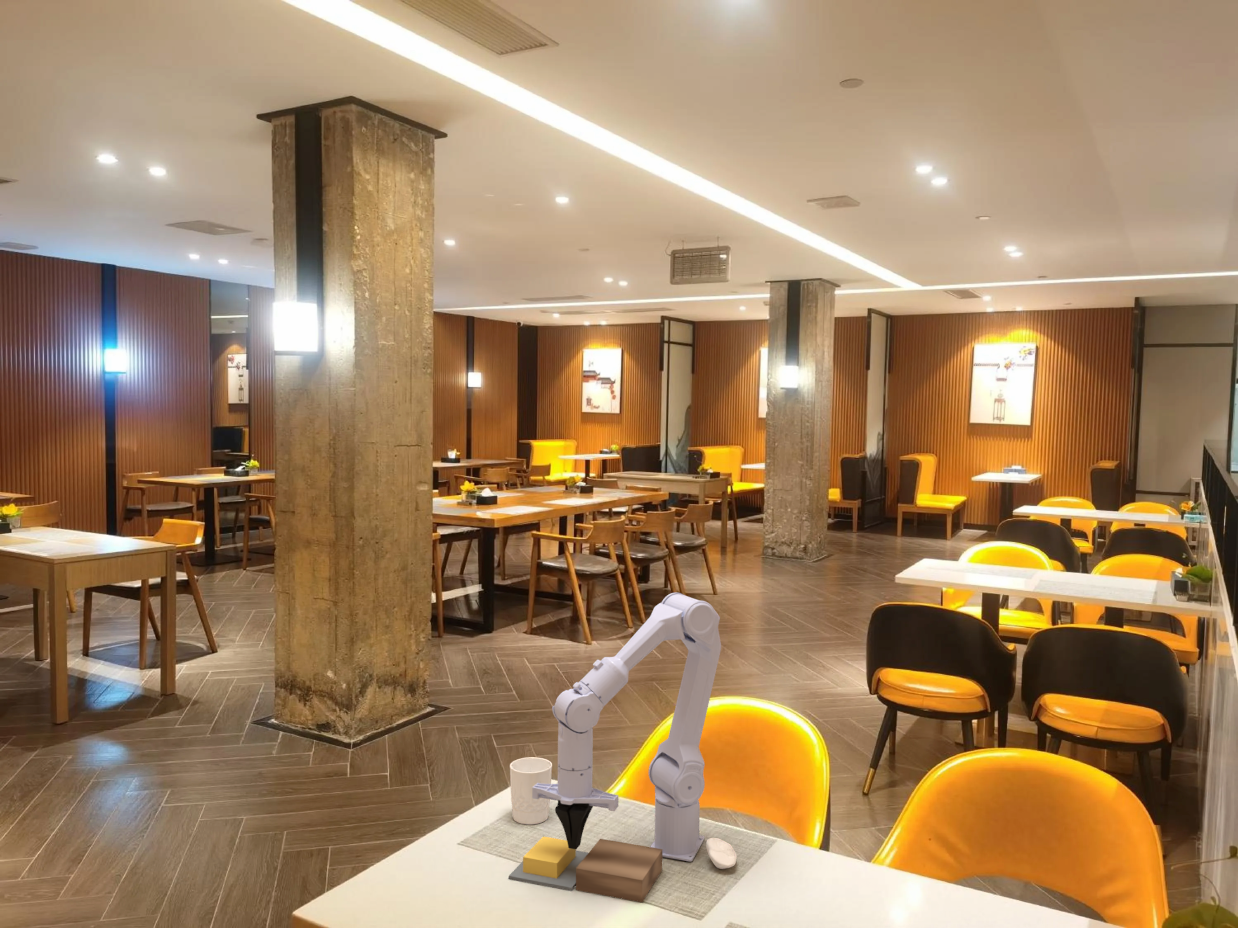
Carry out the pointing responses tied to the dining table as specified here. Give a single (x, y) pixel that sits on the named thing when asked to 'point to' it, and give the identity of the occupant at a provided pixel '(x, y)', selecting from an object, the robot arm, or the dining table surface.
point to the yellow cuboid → (548, 857)
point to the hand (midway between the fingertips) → (574, 845)
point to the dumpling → (721, 853)
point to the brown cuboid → (619, 870)
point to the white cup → (529, 789)
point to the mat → (562, 882)
